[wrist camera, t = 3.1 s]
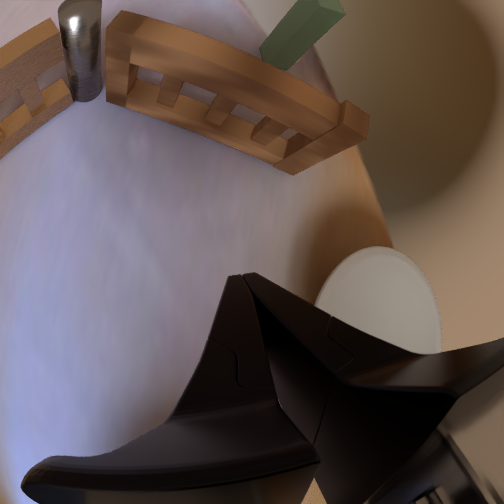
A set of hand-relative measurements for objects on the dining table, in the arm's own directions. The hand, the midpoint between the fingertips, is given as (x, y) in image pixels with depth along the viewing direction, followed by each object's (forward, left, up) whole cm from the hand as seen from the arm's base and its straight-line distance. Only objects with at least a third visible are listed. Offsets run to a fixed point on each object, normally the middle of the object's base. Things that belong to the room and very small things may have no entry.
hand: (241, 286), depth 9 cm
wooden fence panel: (+15, +5, -12) cm, 20 cm away
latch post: (+10, -18, -12) cm, 24 cm away
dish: (-14, -8, -12) cm, 20 cm away
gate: (+7, -8, -11) cm, 16 cm away
